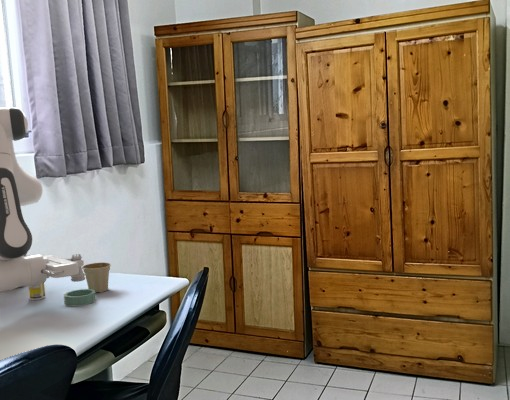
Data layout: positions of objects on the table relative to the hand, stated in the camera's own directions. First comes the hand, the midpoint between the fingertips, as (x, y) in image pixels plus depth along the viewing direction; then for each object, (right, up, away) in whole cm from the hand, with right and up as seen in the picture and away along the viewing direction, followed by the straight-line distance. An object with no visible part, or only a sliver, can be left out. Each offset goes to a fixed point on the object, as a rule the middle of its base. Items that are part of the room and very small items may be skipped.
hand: (79, 261), depth 184 cm
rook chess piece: (0, -6, 0) cm, 6 cm away
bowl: (0, -13, +1) cm, 13 cm away
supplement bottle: (-16, -13, +8) cm, 22 cm away
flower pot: (+2, -11, +14) cm, 18 cm away
